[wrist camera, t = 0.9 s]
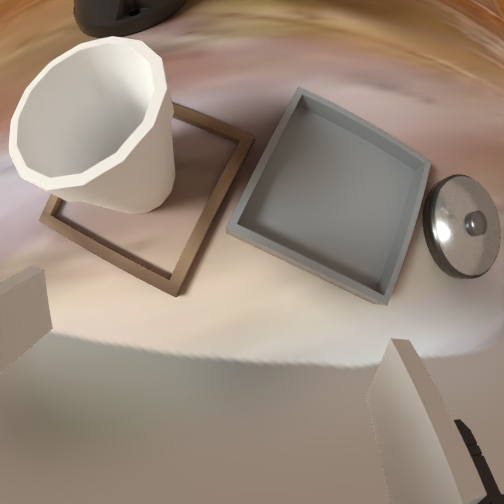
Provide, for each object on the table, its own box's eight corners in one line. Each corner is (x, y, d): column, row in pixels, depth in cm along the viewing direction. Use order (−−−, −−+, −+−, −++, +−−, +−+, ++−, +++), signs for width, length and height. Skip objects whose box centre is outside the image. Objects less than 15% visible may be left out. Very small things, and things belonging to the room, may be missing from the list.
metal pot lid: (432, 161, 28) (452, 150, 24) (493, 209, 28) (514, 203, 24) (408, 252, 27) (429, 248, 23) (475, 293, 27) (497, 294, 23)
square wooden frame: (119, 89, 26) (117, 85, 25) (254, 140, 26) (255, 136, 26) (43, 222, 24) (38, 220, 23) (176, 296, 25) (175, 297, 24)
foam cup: (211, 152, 26) (201, 54, 13) (164, 249, 25) (104, 218, 12) (122, 120, 26) (70, 31, 13) (76, 207, 25) (-15, 159, 12)
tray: (292, 101, 27) (298, 86, 24) (417, 170, 27) (431, 162, 25) (226, 233, 25) (225, 227, 23) (373, 303, 26) (387, 305, 23)
